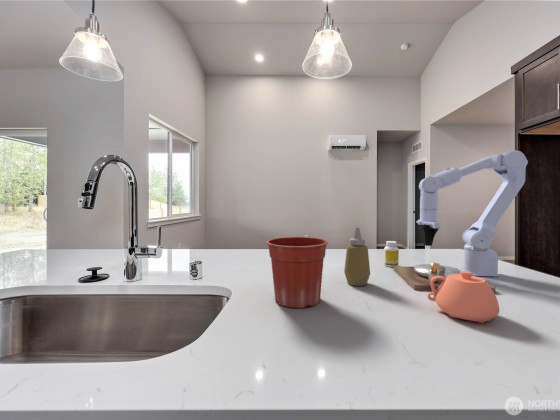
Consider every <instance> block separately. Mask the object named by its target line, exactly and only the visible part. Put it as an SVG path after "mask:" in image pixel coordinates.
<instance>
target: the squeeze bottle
mask: <svg viewBox="0 0 560 420" xmlns="http://www.w3.org/2000/svg"><path fill="white" fill-rule="evenodd" d="M365 244H366V239H365V238H362V234H361V229H360V227H355V229H354V233H353V236H352V238H349V245H347V246H346V252H345V261H344V263H345V264H344V269H343V270H344V271H343V272H344V276H345V279H346V281H347V284H349V285H351V286H355V287H356V286H357V287H361V286H363V287H364V286H366V285H367V284H368V281H369V278H370V276H371V270H370V269H371V268H370V257H369V256H370V255H369V248H368V246H367V245H365Z"/></svg>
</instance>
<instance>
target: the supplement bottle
mask: <svg viewBox="0 0 560 420" xmlns="http://www.w3.org/2000/svg"><path fill="white" fill-rule="evenodd" d="M385 245H386V246H385V247H384V248H383V251H384V252H383V265H384V266H385V267H387V268H393V266H399V254H400V253H399V247H398V246H397V245H398V242H397V241H395V240H386V241H385Z"/></svg>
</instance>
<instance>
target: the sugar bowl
mask: <svg viewBox="0 0 560 420" xmlns="http://www.w3.org/2000/svg"><path fill="white" fill-rule="evenodd" d="M472 275H473V273H472V272H469V271H460V274H451V275H449V276H447V277H446V278H445V277H443V276H435V277H433V278H432V279H431V282H430V284H431V288H432V292H431V291H430V292H428V293H427V299H428V300H430V301H431V302H436V304H437V306H438V307H439V308H440V310H441V311H442V312H444V313H446V314H448V317H450V318H453V319H454V318H455V319H458V318H459V319H461V320H465V321H470V322H475V323H480V324H484V323H485V322H489V321H491V320H493V319H494V318H496V317H497V316H499V314H500V304H499V300H498V298H497V296H496V293H494V292H493V291H492V289H491V287H490V286H489V285H490V284H489V283H488V282H487V281H486V280H485V279H484V278H482V277H480V276H472ZM436 279H442V280H444V281H443V282H442V283H441V285H440V286H439V288H438V290H437V291H436V290H435V287H434V281H435V280H436ZM488 284H489V285H488ZM431 295H433V297H432V296H431Z"/></svg>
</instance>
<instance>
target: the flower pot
mask: <svg viewBox="0 0 560 420" xmlns="http://www.w3.org/2000/svg"><path fill="white" fill-rule="evenodd" d="M328 244H329V240H327V239H324V238H320V237H311V236H289V237H288V236H285V237H283V236H282V237H275V238H271V239H268V240H267V241H266V245H267V246H268V251H269V258H271V259H270V261H271V270H272V272H271V273H272V280H273V290H274V301H275V302H277V303H278V304H279V305H281V306H283V307H287V308H291V309H305V308H306V307H308V306H310V307H314V306H316V305H318V304H319V303H320V301H321V294H322V279H323V272H324V271H323V270H324V269H323V268H324V261H325V256H326V252H327V251H326V250H327V245H328Z"/></svg>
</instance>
